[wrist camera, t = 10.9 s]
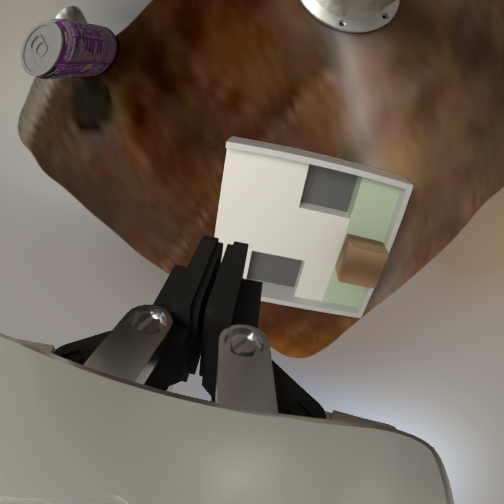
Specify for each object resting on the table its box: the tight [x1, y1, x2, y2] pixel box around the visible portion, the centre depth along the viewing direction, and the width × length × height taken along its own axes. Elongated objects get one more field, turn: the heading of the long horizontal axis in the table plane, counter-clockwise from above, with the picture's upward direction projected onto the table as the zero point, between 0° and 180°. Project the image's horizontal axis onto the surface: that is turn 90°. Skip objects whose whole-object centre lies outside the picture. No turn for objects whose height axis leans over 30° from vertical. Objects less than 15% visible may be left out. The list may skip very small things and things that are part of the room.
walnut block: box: [335, 233, 390, 289], centre depth 39 cm, size 5×5×4 cm
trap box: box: [215, 136, 413, 318], centre depth 40 cm, size 20×22×4 cm
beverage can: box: [21, 19, 117, 79], centre depth 27 cm, size 7×7×12 cm
